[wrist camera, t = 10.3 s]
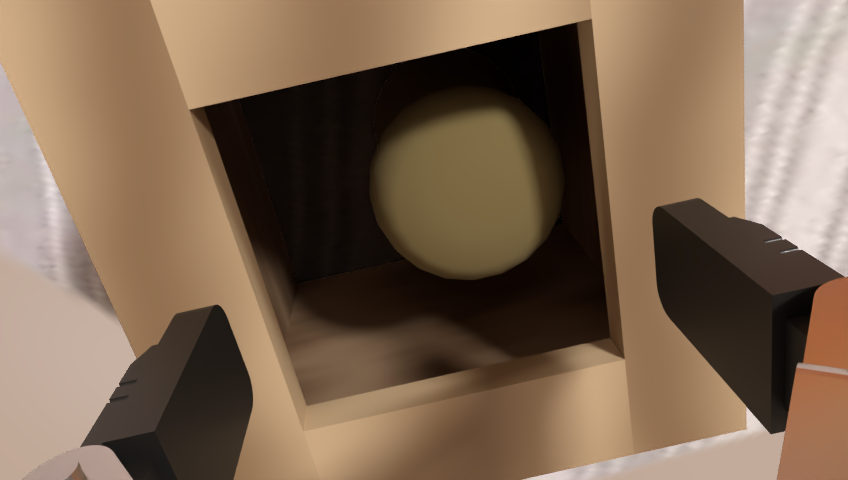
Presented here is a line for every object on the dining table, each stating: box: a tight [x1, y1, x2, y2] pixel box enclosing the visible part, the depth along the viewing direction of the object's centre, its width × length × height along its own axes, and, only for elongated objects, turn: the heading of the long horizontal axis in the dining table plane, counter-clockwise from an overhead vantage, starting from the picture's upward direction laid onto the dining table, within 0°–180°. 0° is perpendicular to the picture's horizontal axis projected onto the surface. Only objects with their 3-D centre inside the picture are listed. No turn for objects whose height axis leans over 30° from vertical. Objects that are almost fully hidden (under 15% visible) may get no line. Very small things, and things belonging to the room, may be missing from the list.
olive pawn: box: [369, 48, 565, 280], centre depth 21 cm, size 6×6×11 cm
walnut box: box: [0, 0, 746, 480], centre depth 20 cm, size 14×14×13 cm
